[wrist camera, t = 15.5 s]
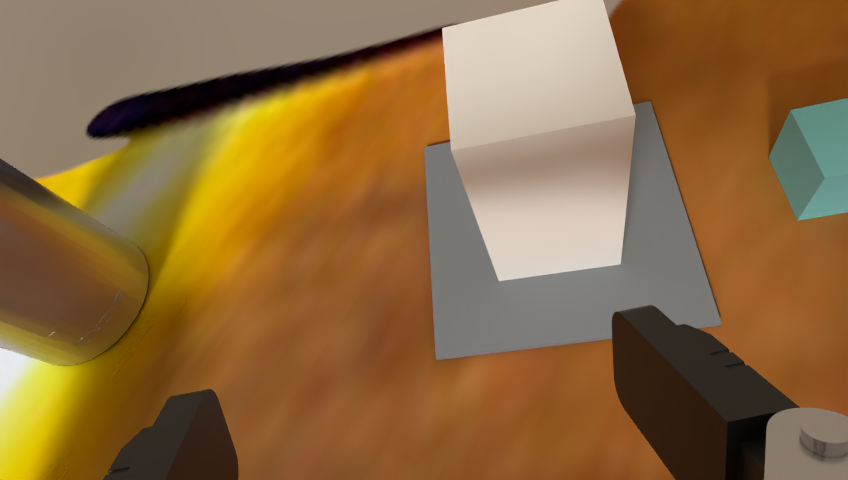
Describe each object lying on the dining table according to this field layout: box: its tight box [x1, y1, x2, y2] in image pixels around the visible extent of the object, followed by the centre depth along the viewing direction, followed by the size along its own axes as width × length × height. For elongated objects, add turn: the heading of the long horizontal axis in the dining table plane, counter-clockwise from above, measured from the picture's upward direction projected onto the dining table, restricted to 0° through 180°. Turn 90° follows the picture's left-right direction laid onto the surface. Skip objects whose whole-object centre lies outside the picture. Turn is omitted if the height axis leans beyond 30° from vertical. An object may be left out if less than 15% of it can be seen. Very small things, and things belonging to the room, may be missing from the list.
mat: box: [424, 101, 721, 360], centre depth 31 cm, size 14×14×1 cm
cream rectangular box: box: [442, 0, 636, 281], centre depth 26 cm, size 6×6×12 cm
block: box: [769, 98, 848, 221], centre depth 27 cm, size 4×4×4 cm
